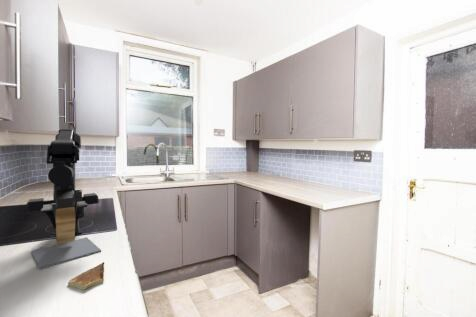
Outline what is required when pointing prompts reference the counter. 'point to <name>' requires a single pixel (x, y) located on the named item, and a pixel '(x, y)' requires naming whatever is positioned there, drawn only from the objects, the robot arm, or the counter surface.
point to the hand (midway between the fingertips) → (65, 227)
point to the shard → (89, 278)
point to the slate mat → (64, 252)
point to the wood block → (65, 225)
